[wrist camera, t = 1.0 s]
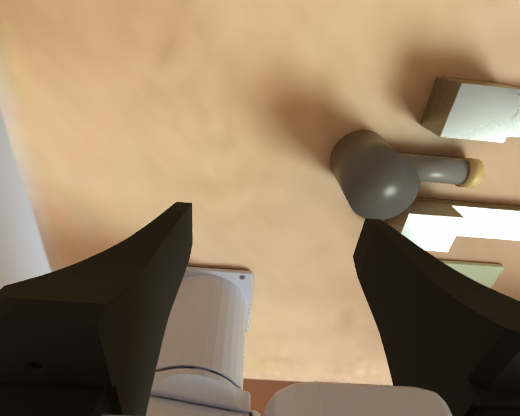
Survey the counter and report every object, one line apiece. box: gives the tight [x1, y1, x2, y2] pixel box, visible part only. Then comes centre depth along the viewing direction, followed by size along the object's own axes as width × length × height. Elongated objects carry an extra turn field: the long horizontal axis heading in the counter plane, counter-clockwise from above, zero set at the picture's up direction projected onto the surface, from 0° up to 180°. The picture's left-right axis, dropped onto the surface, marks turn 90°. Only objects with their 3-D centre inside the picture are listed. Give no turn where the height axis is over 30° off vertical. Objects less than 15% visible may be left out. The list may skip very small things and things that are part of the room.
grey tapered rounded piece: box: [330, 130, 484, 220], centre depth 20 cm, size 10×4×5 cm, turn 85°
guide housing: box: [385, 77, 520, 252], centre depth 21 cm, size 12×11×3 cm
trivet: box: [440, 260, 504, 288], centre depth 28 cm, size 8×7×1 cm
